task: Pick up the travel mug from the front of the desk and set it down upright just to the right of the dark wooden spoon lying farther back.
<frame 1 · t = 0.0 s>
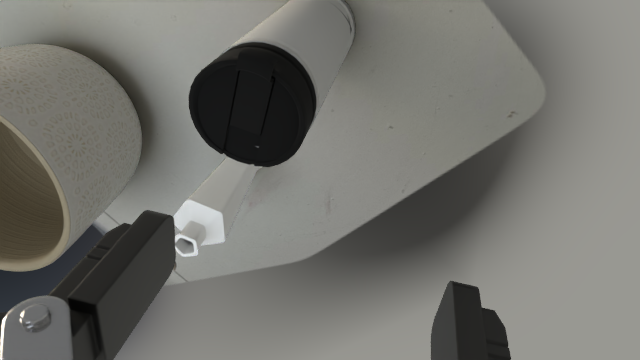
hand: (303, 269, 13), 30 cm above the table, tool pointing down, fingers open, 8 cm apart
perfume bottle: (250, 151, 48), on the table
travel mug: (320, 24, 40), on the table
planter: (87, 110, 49), on the table
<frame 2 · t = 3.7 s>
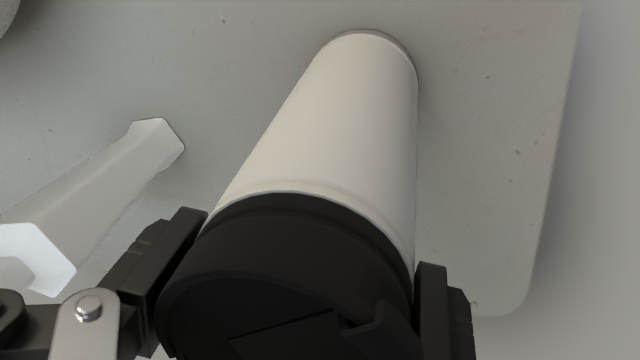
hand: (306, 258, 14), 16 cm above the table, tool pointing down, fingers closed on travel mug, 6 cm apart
perfume bottle: (160, 141, 32), on the table
travel mug: (365, 80, 27), on the table, touching gripper
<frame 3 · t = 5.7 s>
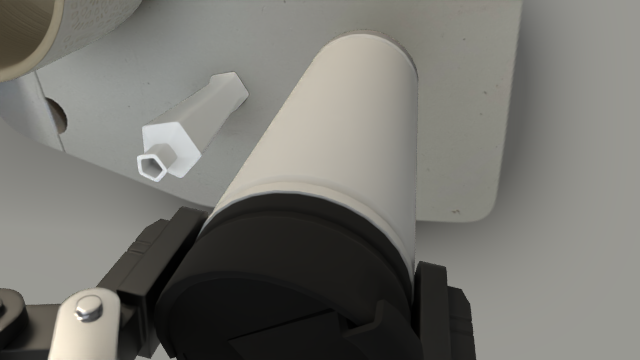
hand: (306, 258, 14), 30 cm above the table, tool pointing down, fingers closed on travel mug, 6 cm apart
perfume bottle: (230, 90, 44), on the table
travel mug: (366, 81, 27), point 14 cm above the table, touching gripper
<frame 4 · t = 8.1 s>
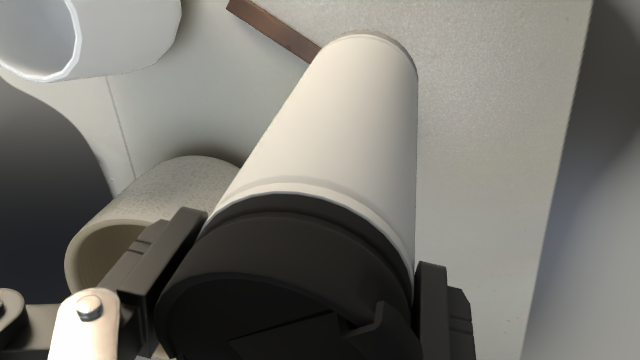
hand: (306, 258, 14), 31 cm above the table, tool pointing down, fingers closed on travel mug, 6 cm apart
spoon: (317, 56, 43), on the table
travel mug: (366, 81, 27), point 15 cm above the table, touching gripper
planter: (219, 202, 54), on the table
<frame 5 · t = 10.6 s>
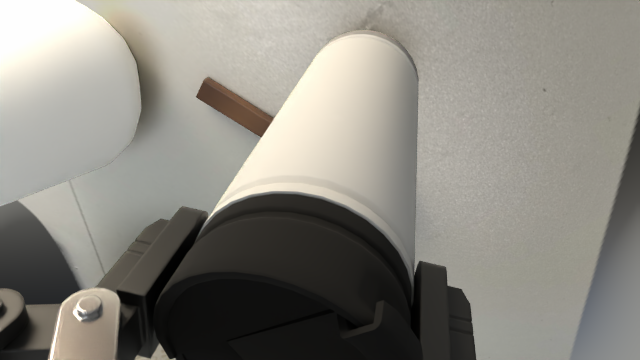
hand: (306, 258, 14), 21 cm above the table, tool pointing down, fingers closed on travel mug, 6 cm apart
spoon: (306, 149, 36), on the table
cup: (84, 66, 36), on the table
travel mug: (366, 81, 27), point 5 cm above the table, touching gripper
when the fingers open (16 cm above the table, at t = 12.5 s): travel mug stays where it is, on the table.
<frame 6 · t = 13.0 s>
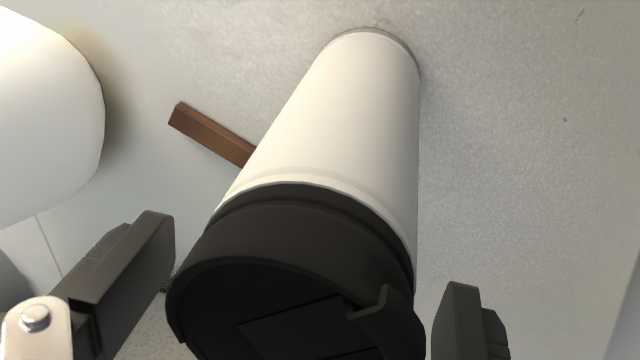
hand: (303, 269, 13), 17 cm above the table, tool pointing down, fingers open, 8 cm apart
spoon: (293, 181, 32), on the table
cup: (43, 88, 32), on the table
travel mug: (368, 78, 28), on the table
planter: (177, 332, 43), on the table
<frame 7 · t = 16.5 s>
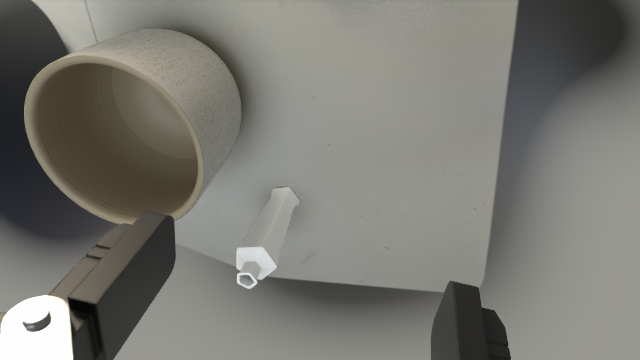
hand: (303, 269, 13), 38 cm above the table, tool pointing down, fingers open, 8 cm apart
perfume bottle: (286, 198, 60), on the table
planter: (187, 90, 54), on the table
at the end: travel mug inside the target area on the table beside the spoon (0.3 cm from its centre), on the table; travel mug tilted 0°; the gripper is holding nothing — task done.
